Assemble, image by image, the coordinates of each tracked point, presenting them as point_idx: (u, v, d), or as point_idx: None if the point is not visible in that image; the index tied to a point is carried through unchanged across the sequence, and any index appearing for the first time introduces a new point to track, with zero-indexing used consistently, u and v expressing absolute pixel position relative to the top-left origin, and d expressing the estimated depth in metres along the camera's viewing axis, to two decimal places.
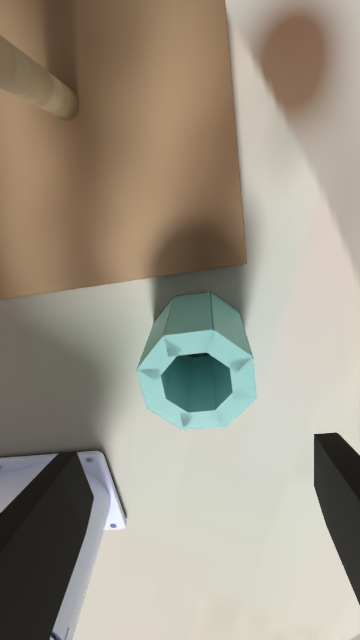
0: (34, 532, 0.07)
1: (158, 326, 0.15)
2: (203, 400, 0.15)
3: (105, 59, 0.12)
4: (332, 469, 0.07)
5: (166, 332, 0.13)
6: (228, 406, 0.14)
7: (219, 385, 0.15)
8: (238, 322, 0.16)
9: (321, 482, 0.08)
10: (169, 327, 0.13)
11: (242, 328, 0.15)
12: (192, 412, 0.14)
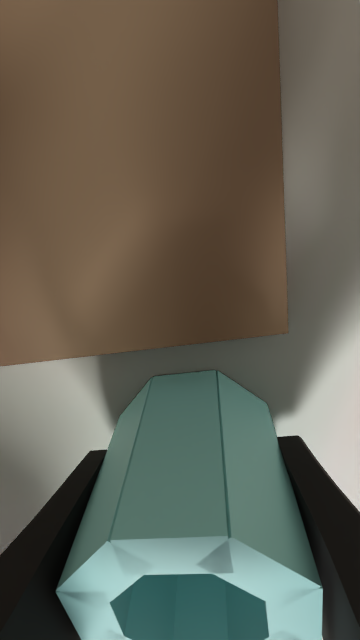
0: (75, 530, 0.07)
1: (118, 451, 0.08)
2: (204, 612, 0.07)
3: None
4: (288, 472, 0.07)
5: (118, 525, 0.05)
6: None
7: None
8: (271, 442, 0.08)
9: None
10: (128, 497, 0.06)
11: (280, 460, 0.08)
12: None
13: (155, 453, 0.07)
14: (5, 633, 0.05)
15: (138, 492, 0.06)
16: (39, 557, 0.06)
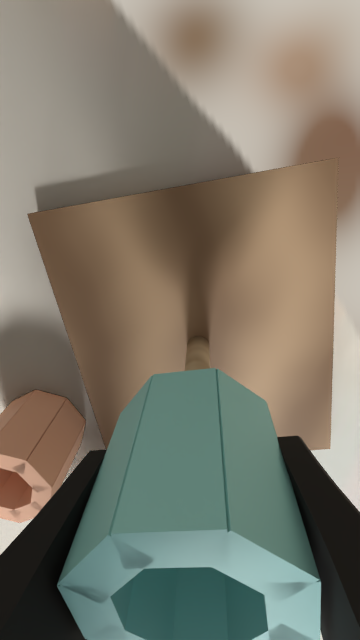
0: (75, 530, 0.07)
1: (119, 447, 0.08)
2: (204, 607, 0.07)
3: (235, 322, 0.16)
4: (288, 472, 0.07)
5: (118, 519, 0.06)
6: None
7: None
8: (270, 438, 0.08)
9: None
10: (129, 492, 0.06)
11: (279, 456, 0.08)
12: None
13: (155, 449, 0.07)
14: (5, 633, 0.05)
15: (138, 487, 0.06)
16: (39, 557, 0.06)
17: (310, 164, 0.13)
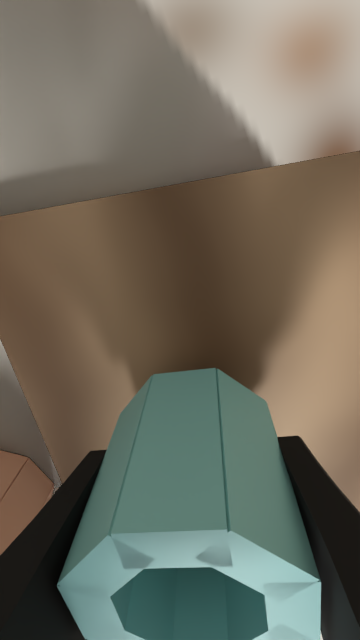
0: (75, 530, 0.07)
1: (118, 447, 0.08)
2: (204, 607, 0.07)
3: (248, 373, 0.12)
4: (288, 472, 0.07)
5: (118, 519, 0.06)
6: None
7: None
8: (270, 438, 0.08)
9: None
10: (129, 492, 0.06)
11: (279, 456, 0.08)
12: None
13: (155, 449, 0.07)
14: (5, 633, 0.05)
15: (138, 487, 0.06)
16: (39, 557, 0.06)
17: None
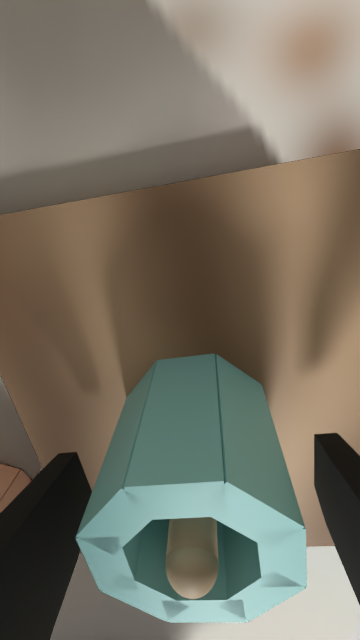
0: (34, 532, 0.07)
1: (127, 424, 0.09)
2: None
3: None
4: (332, 469, 0.07)
5: (130, 476, 0.06)
6: (252, 595, 0.07)
7: (233, 530, 0.09)
8: (264, 415, 0.09)
9: (321, 482, 0.08)
10: (138, 455, 0.07)
11: (272, 430, 0.09)
12: (184, 600, 0.08)
13: (161, 421, 0.08)
14: None
15: (147, 451, 0.07)
16: None
17: None
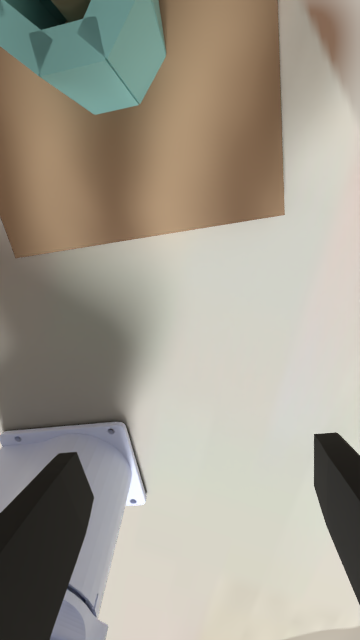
0: (34, 532, 0.07)
1: None
2: None
3: None
4: (332, 469, 0.07)
5: None
6: (103, 7, 0.08)
7: None
8: None
9: (321, 482, 0.08)
10: None
11: None
12: (48, 29, 0.09)
13: None
14: None
15: None
16: None
17: None
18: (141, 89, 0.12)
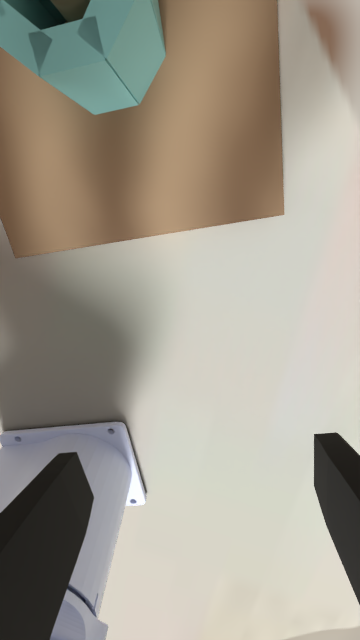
0: (34, 532, 0.07)
1: None
2: None
3: None
4: (332, 469, 0.07)
5: None
6: (102, 7, 0.08)
7: None
8: None
9: (321, 482, 0.08)
10: None
11: None
12: (47, 29, 0.09)
13: None
14: None
15: None
16: None
17: None
18: (141, 89, 0.12)
